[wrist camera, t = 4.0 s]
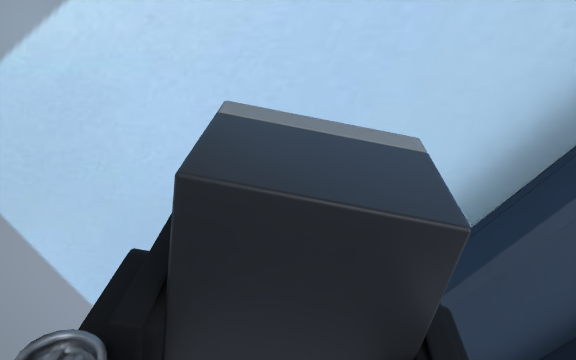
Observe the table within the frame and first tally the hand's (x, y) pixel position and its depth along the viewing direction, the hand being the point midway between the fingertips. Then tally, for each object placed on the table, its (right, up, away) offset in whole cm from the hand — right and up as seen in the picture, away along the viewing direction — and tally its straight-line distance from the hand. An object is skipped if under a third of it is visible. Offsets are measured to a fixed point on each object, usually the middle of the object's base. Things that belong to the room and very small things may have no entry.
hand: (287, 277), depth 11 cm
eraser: (0, 0, 0) cm, 0 cm away
